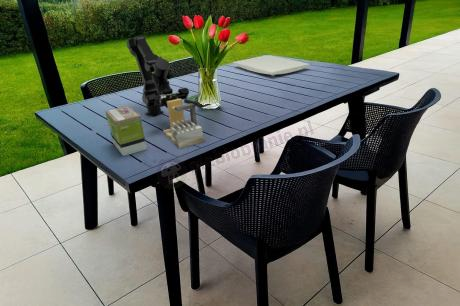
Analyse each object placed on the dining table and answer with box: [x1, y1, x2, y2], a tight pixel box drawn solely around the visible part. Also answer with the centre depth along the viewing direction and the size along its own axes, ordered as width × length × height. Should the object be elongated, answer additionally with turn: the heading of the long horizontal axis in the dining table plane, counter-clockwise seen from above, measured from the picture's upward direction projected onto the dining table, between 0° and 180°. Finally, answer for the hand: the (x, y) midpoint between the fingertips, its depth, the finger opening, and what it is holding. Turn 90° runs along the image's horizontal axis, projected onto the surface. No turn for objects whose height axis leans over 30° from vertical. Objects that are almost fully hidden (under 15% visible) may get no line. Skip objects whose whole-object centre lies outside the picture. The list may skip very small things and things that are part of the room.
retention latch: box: [167, 98, 185, 131], centre depth 148 cm, size 6×6×13 cm
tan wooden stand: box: [162, 103, 206, 149], centre depth 146 cm, size 18×11×14 cm, turn 30°
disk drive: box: [183, 93, 212, 109], centre depth 189 cm, size 10×3×15 cm
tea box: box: [105, 105, 148, 157], centre depth 140 cm, size 15×10×15 cm, turn 32°
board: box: [232, 54, 311, 77], centre depth 247 cm, size 45×32×5 cm
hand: (174, 113), depth 151 cm, fingers closed
